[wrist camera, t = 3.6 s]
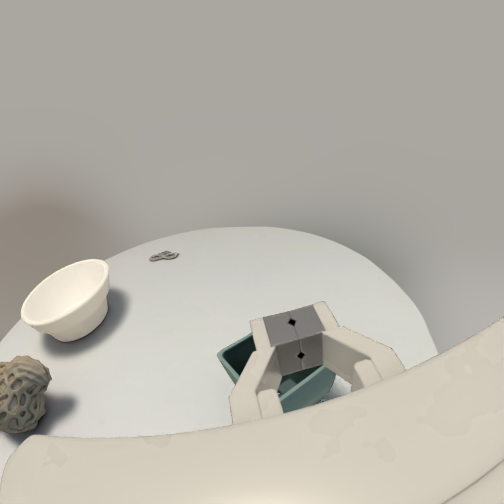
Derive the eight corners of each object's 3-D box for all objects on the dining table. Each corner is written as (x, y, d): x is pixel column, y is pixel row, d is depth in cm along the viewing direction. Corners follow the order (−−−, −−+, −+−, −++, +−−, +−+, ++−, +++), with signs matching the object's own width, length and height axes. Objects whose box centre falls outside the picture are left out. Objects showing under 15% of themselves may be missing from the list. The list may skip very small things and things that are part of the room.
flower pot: (234, 399, 33) (214, 352, 28) (291, 361, 36) (283, 310, 32) (278, 449, 26) (265, 410, 22) (339, 401, 30) (342, 353, 25)
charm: (146, 259, 68) (152, 252, 71) (147, 261, 68) (152, 253, 71) (175, 256, 66) (180, 248, 70) (176, 258, 67) (181, 250, 70)
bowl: (32, 367, 41) (7, 335, 37) (52, 305, 59) (36, 277, 55) (124, 342, 45) (102, 304, 41) (127, 279, 63) (113, 248, 59)
